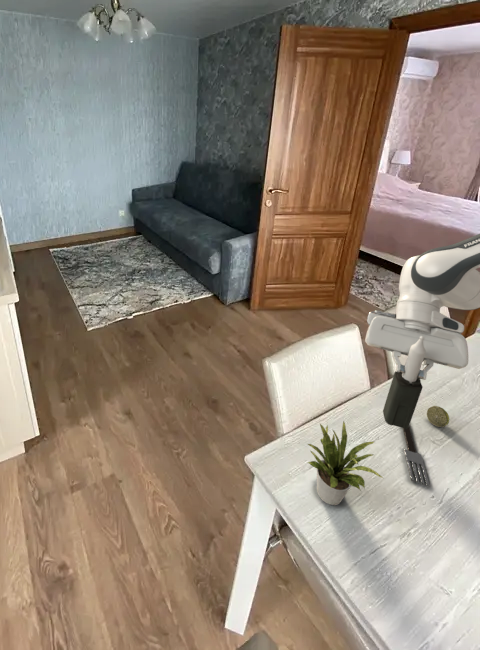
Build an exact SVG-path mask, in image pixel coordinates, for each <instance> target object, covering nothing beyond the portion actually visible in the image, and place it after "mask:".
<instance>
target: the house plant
mask: <svg viewBox="0 0 480 650" xmlns="http://www.w3.org/2000/svg"><path fill="white" fill-rule="evenodd" d="M319 426H320V430H321V432H322V438H320V443H321V445H322V450H323V452H322V450H321V449H320V447H318V446H316V445H313V444H312V443H307V445H308V446H309V447H310V448H312V449H313V450H315V451H316V452H317V454H319V455H320V456H321V458H322V460H321V458H319V456H318V455H317V454H316V453H315V452H313V451H312V450H311V449H309V451H310V453H311V454H312V456H314V459H315V460H312V461H307V462H306V463H307V464H309V465H310V466H311V467H313V468H315V469H316V492H317V496H318V497H319V498H320V499H321V500H322V501H323V502H324V503H326V504H327V505H330V506H337V505H340V503H341V502H342V500H343V499H344V498H345V497H346V495H347V493H348V492H349V490H350V489H351V487H353V488H356V489H358V490H359V491H360V492H362V490H361V487H360V486H362V487H363V489H364V490H365V487H366V486H365V482H366V481H365V480H364V478H363V476H362V475H359V474H357V473H351V472H352V471H363V472H367V473H371V474H373V475H376V476H377V477H379V478H382V479H385V478H384V477H383V476H382V475H381V474H379V473H378V472H377V471H376V470H374V469H372V468H370V467H368V466H364V465H359V462H361V461H364V460H365V459H367V458H369V457H373V456H375V454H373V453H367V454H363V455H360V456H358V453H359V452H360V451H362V450H364V449H365V448H366V447H368V446H370V445H372V444H375V441H364V442H362V443H360V444H358V445H356V446H354V447H353V448H352V449H350V451H348V454H347V455H346V456H345V452H346V448H347V445H348V444H347V443H348V432H347V428H346V423H345V420H343V422H342V426H341V427H342V428H341V440H340V439H339V437H338V435H337V432H336V431H335V430H334V429H333V428H332V432H333V435H332V438H331V437H330V435H329V433H328V432H329V427H328V424H326V427H324V425H322V423H319ZM355 465H357V466H355Z"/></svg>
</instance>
